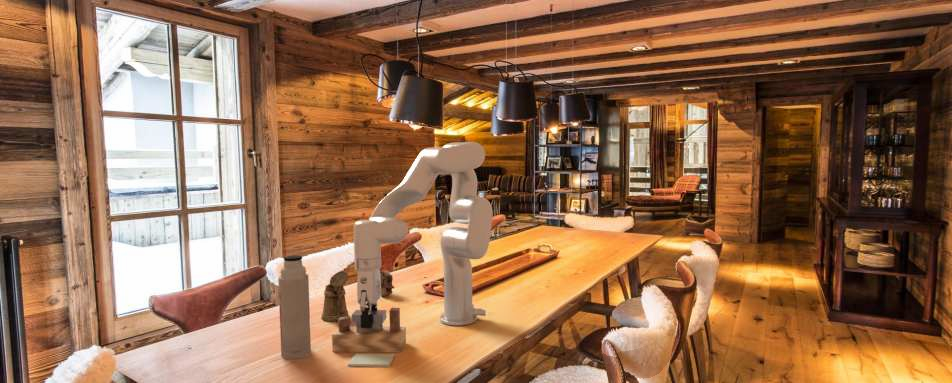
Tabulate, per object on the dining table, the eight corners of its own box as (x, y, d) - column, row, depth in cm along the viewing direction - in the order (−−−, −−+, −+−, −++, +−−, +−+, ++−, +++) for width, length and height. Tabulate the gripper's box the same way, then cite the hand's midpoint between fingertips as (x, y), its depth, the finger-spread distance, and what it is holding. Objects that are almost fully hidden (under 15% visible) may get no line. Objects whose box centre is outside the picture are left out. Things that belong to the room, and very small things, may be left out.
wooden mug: (328, 327, 166) (326, 273, 165) (318, 316, 178) (317, 265, 177) (355, 322, 171) (353, 269, 169) (344, 312, 182) (342, 262, 181)
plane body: (406, 343, 152) (405, 305, 151) (401, 352, 145) (400, 312, 144) (340, 342, 153) (339, 305, 152) (332, 351, 146) (331, 312, 145)
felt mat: (394, 356, 142) (394, 354, 142) (388, 366, 135) (388, 364, 135) (355, 355, 142) (355, 353, 142) (347, 366, 135) (347, 364, 135)
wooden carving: (367, 292, 209) (366, 268, 208) (377, 290, 212) (376, 266, 211) (388, 300, 196) (387, 275, 195) (398, 298, 199) (397, 273, 198)
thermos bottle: (277, 359, 140) (273, 259, 138) (285, 348, 148) (282, 253, 146) (307, 358, 141) (303, 258, 139) (313, 347, 149) (310, 253, 147)
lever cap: (386, 318, 150) (386, 307, 150) (382, 323, 146) (382, 312, 145) (356, 317, 151) (356, 307, 150) (351, 323, 146) (351, 312, 146)
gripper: (373, 269, 138) (375, 334, 139) (387, 257, 155) (388, 315, 157) (346, 269, 139) (348, 334, 140) (363, 257, 156) (364, 314, 157)
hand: (369, 323), depth 148 cm, fingers open, 5 cm apart
